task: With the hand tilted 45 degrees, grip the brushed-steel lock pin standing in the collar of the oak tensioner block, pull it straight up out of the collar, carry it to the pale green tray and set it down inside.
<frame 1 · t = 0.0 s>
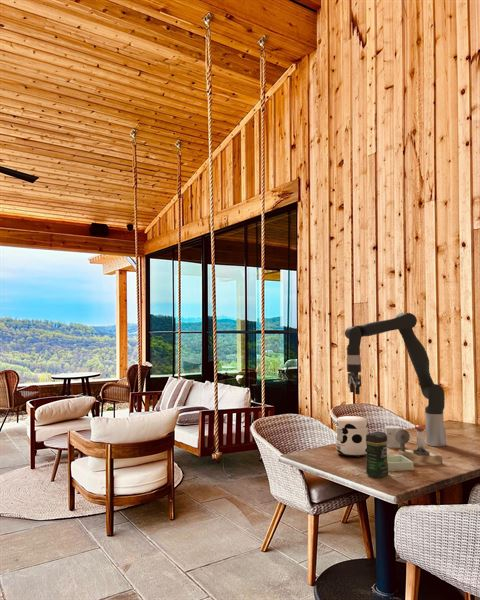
hand: (354, 393, 249), 29 cm above the table, tool pointing down, fingers open, 8 cm apart
tensioner block: (425, 462, 218), on the table
tray: (395, 466, 213), on the table
white printed canister: (353, 454, 234), on the table
small box: (393, 446, 249), on the table
coffee jar: (377, 475, 200), on the table
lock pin: (421, 454, 218), point 4 cm above the table, touching tensioner block
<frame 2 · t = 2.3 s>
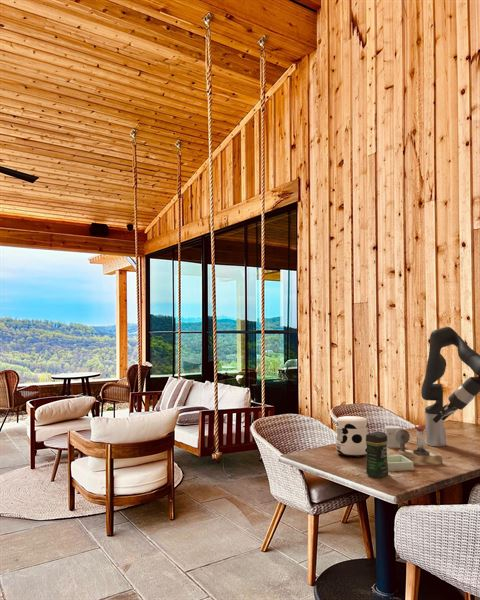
hand: (438, 420, 213), 21 cm above the table, tool tilted 45°, fingers open, 8 cm apart
nothing on the table moved.
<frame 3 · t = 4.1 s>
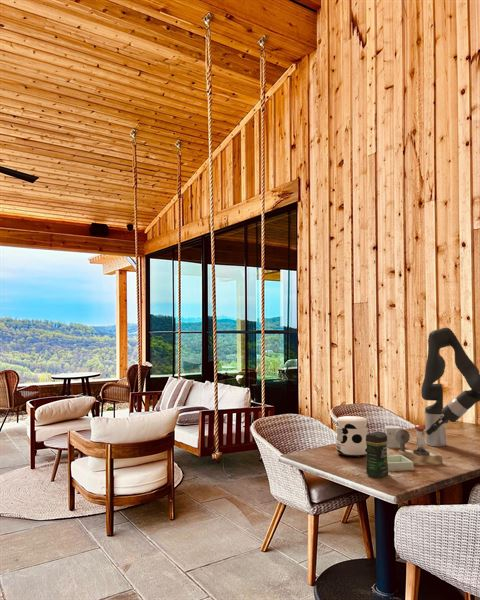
hand: (430, 431, 216), 15 cm above the table, tool tilted 45°, fingers open, 8 cm apart
nothing on the table moved.
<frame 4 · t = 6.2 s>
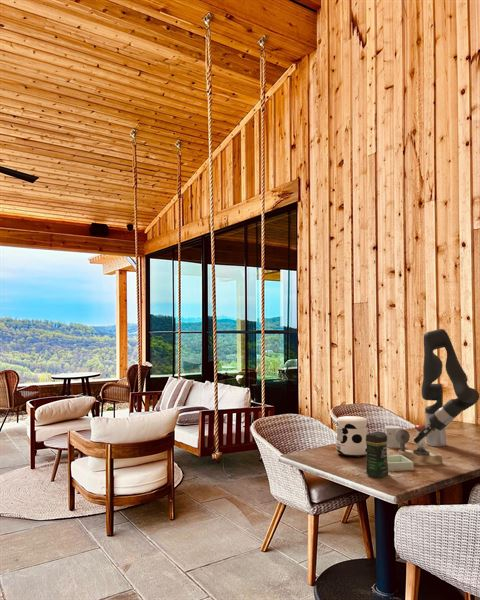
hand: (416, 440, 220), 10 cm above the table, tool tilted 45°, fingers closed on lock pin, 3 cm apart
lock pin: (421, 454, 218), point 4 cm above the table, touching gripper, tensioner block
everything else where it was.
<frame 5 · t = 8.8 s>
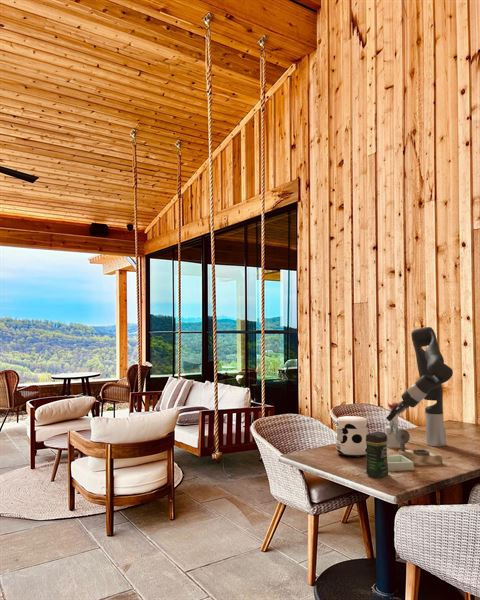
hand: (389, 418, 215), 22 cm above the table, tool tilted 45°, fingers closed on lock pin, 3 cm apart
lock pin: (394, 432, 214), point 16 cm above the table, touching gripper
everything else where it was.
when the fingers open (8 cm above the table, at t = 11.5 s): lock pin drops 1 cm, resting on tray.
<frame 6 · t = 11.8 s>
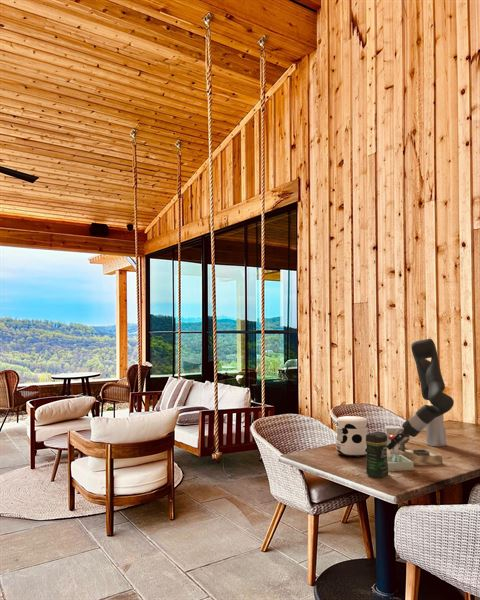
hand: (390, 446, 214), 9 cm above the table, tool tilted 45°, fingers open, 6 cm apart
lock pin: (395, 464, 213), point 1 cm above the table, touching tray
everything else where it was.
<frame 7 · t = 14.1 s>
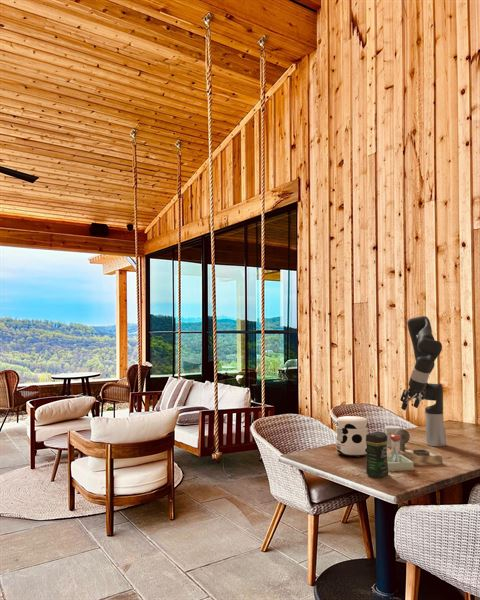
hand: (409, 408, 220), 26 cm above the table, tool tilted 25°, fingers open, 8 cm apart
nothing on the table moved.
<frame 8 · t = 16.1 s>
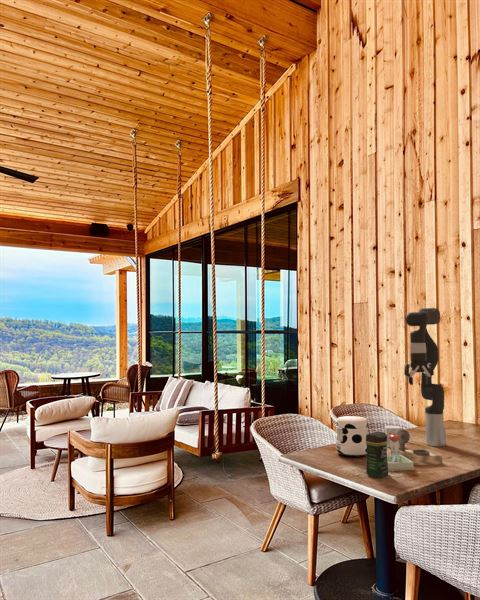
hand: (419, 384, 228), 36 cm above the table, tool pointing down, fingers open, 8 cm apart
nothing on the table moved.
at the end: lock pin inside the target area on the tray (0.2 cm from its centre), point 0.8 cm above the tray's base; the gripper is holding nothing; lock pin moved 15.7 cm from its start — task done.
